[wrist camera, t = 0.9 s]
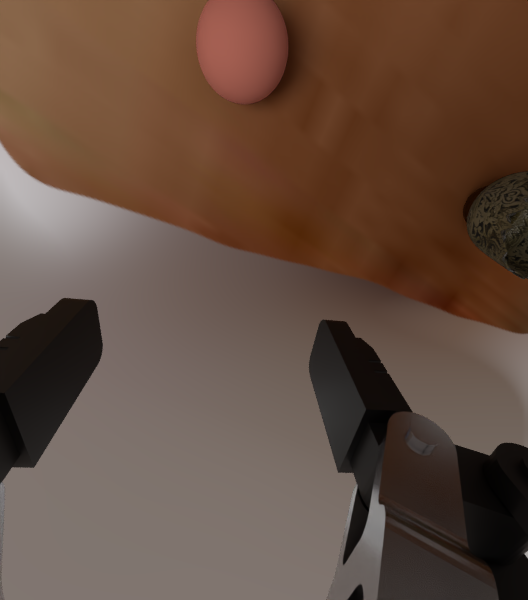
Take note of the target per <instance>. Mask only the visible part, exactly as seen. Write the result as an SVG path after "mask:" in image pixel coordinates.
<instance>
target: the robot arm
mask: <svg viewBox="0 0 528 600" xmlns="http://www.w3.org/2000/svg"><path fill="white" fill-rule="evenodd" d="M102 347H103V343H102V336H101V330H100V323H99V317H98V311H97V306H96V303H95V302H94V301H93V300H83V299H71V298H63V299H61V300H60V301H59V302H58V303H57V304H56V305H54V306H53V307H52V308H51V309H50V310H49V311H48V312H47V313H46V314H39V315H37V316H35V317H33V318H31V319H29V320H26V321H24V322H22V323H20V324H19V325H18V326H17V327H16V328H15V329H13V330H12V331H11V332H10V333H9V334H8V335H6V338H5V339H4V338H3V339H2V340H1V341H0V600H4V597H3V592H2V583H1V570H2V547H3V524H4V500H5V487H4V484H3V482H2V481H3V479H4V478H5V477H6V475H7V474H8V472H9V471H10V469H11V468H12V467H30V468H32V467H33V468H34V467H35V465H36V463H37V462H38V460H39V459H40V457H41V455H42V454H43V452H44V450H45V449H46V447H47V446H48V444H49V443H50V441H51V439H52V438H53V436H54V434H55V433H56V431H57V429H58V428H59V426H60V424H61V423H62V421H63V420H64V418H65V417H66V415H67V413H68V412H69V410H70V409H71V407H72V405H73V404H74V402H75V400H76V399H77V397H78V396H79V394H80V392H81V391H82V389H83V387H84V386H85V384H86V383H87V381H88V379H89V378H90V376H91V375H92V373H93V371H94V370H95V368H96V367H97V365H98V363H99V361H100V358H101V355H102ZM309 372H310V377H311V381H312V384H313V388H314V391H315V394H316V398H317V401H318V405H319V408H320V412H321V415H322V419H323V422H324V425H325V429H326V432H327V436H328V439H329V443H330V446H331V449H332V453H333V456H334V460H335V463H336V466H337V470H338V472H343V473H344V472H345V473H354V476H355V479H356V482H357V484H356V486H355V488H354V490H353V494H352V499H351V503H350V508H349V513H348V518H347V522H346V527H345V532H344V536H343V541H342V546H341V550H340V555H339V560H338V564H337V569H336V572H335V576H334V579H333V582H332V585H331V587H330V591H329V593H328V596H327V599H326V600H528V558H527V557H526V556H525V554H524V553H525V552H527V551H528V448H526V447H524V446H521V445H518V444H514V443H502V444H500V445H499V446H498V447H497V448H496V449H495V450H494V451H493V453H492V454H491V455H490V456H489V455H486V454H483V453H480V452H477V451H474V450H470V449H467V448H464V447H461V446H458V445H454V444H453V442H452V440H451V439H450V437H449V436H448V435H447V434H446V432H445V431H444V430H443V429H441V428H440V427H439V426H438V425H437V424H435V423H434V422H433V421H431V420H429V419H428V418H426V417H424V416H421V415H419V414H416V413H413V412H412V410H411V409H410V407H409V405H408V404H407V402H406V401H405V399H404V398H403V396H402V394H401V393H400V391H399V389H398V388H397V386H396V385H395V383H394V381H393V380H392V378H391V377H390V375H389V374H387V370H386V369H385V367H384V365H383V364H382V363H381V360H380V359H379V357H378V356H377V354H376V352H375V351H374V349H373V348H372V347H371V346H369V345H368V344H367V343H366V342H365V341H364V340H362V339H361V338H355V336H354V334H353V333H352V331H351V329H350V327H349V326H348V324H347V323H346V322H344V321H333V320H322V321H321V322H320V324H319V327H318V330H317V334H316V338H315V341H314V345H313V349H312V352H311V356H310V362H309Z"/></svg>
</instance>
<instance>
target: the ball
mask: <svg viewBox="0 0 528 600" xmlns="http://www.w3.org/2000/svg"><path fill="white" fill-rule="evenodd" d="M196 48H197V55H198V59H199V63H200V66H201V69H202V72H203V74H204V76H205V78H206V80H207V81H208V83H209V84H210V85H211V87H212V88H213V89H214V90H215V91H216V92H217V93H218V94H219V95H220V96H222V97H223V98H225V99H226V100H228V101H231V102H233V103H237V104H252V103H256V102H258V101H261V100H262V99H264V98H266V97H267V96H268V95H269V94H270V93H271V92H272V91H273V90H274V89H275V88H276V87H277V85H278V84H279V82H280V80H281V78H282V76H283V74H284V71H285V67H286V64H287V59H288V34H287V29H286V25H285V22H284V19H283V16H282V14H281V12H280V10H279V8H278V7H277V5H276V3H275V2H274V1H273V0H208V2H207V3H206V5H205V7H204V9H203V11H202V13H201V16H200V19H199V22H198V27H197V35H196Z"/></svg>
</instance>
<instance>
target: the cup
mask: <svg viewBox="0 0 528 600" xmlns="http://www.w3.org/2000/svg"><path fill="white" fill-rule="evenodd" d="M463 216H464V219H465V221H466V223H467V230H468V234H469V236H470V238H471V240H472V241H473V243H474V244H475V245H476V246H477V247H478V248H479V249H480V250H481V251H482V252H484V253H485V254H486V255H487V256H489V257H490V258H492V259H493V260H494V261H496V262H497V263H499V264H500V265H502V266H503V267H504V268H506V269H507V270H509V271H511V272H512V273H513V274H515V275H517V276H518V277H520V278H522V279H525V278H527V279H528V171H526V172H519V173H515V174H511V175H508V176H505V177H503V178H501V179H499V180H497V181H495V182H493V183H492V184H490V185H489V186H485V187H482V188H480V189H478V190H477V191H475V192H474V193H473V194H472V195H471V196H470V197H469V198H468V199H467V201H466V203H465V205H464V208H463ZM523 277H524V278H523Z"/></svg>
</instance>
